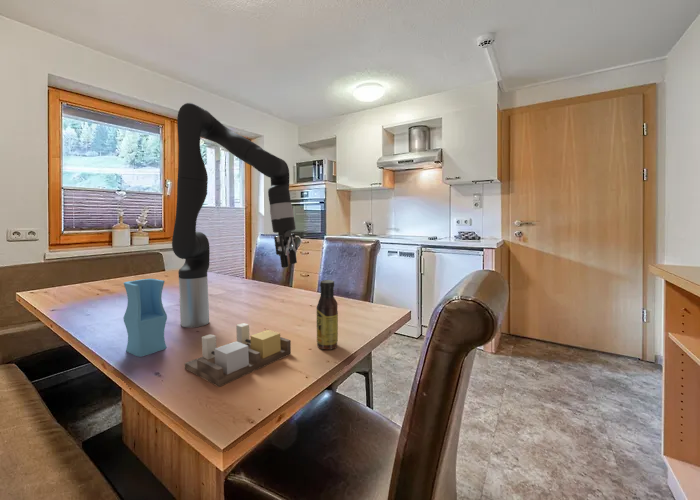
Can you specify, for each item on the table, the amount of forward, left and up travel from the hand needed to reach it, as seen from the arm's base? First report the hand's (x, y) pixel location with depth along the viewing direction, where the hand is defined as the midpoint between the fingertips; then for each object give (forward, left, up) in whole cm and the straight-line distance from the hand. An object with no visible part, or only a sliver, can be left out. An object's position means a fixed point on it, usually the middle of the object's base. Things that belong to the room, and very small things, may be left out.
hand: (289, 265), depth 109 cm
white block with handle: (+7, -31, -21) cm, 38 cm away
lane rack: (+8, -25, -22) cm, 35 cm away
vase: (-21, -37, -22) cm, 48 cm away
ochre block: (+7, -20, -21) cm, 30 cm away
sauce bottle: (+20, -4, -22) cm, 30 cm away
